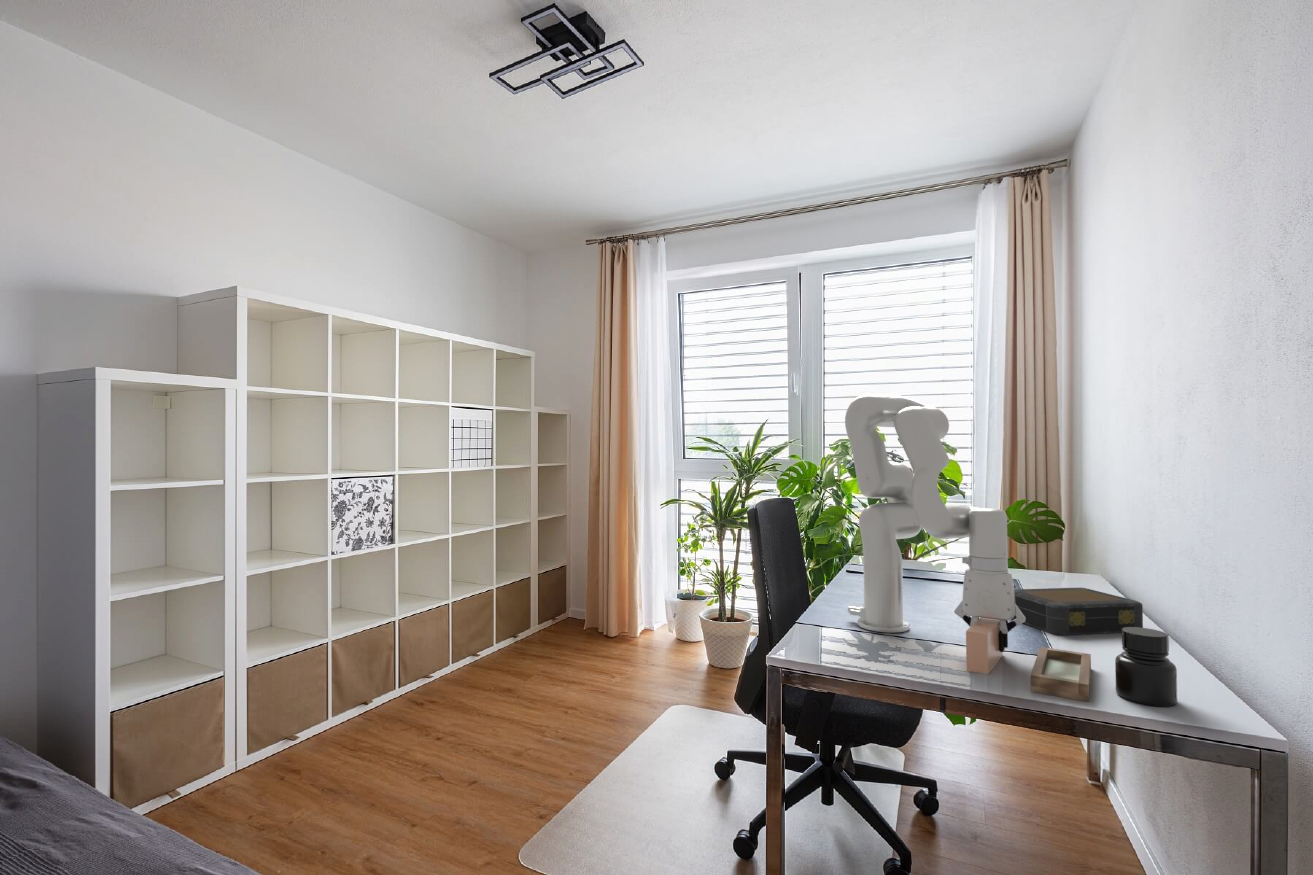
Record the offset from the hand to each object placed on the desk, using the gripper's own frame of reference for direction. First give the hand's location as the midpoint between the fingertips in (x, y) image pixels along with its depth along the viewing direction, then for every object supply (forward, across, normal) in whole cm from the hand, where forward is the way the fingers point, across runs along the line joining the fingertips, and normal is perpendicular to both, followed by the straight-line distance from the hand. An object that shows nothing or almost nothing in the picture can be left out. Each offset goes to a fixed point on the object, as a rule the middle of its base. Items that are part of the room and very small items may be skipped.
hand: (989, 647), depth 142 cm
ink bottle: (+2, +27, -11) cm, 29 cm away
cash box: (+2, +13, +44) cm, 46 cm away
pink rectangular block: (+2, 0, -5) cm, 5 cm away
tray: (+2, +14, -8) cm, 16 cm away
